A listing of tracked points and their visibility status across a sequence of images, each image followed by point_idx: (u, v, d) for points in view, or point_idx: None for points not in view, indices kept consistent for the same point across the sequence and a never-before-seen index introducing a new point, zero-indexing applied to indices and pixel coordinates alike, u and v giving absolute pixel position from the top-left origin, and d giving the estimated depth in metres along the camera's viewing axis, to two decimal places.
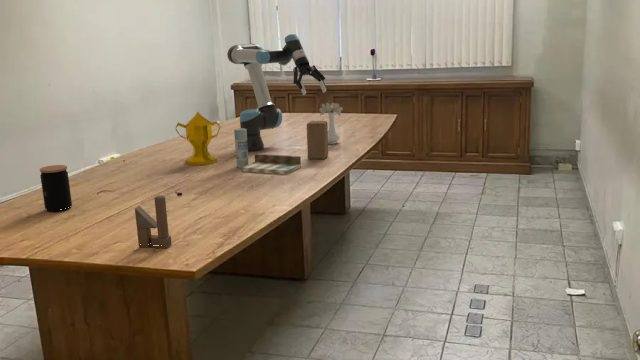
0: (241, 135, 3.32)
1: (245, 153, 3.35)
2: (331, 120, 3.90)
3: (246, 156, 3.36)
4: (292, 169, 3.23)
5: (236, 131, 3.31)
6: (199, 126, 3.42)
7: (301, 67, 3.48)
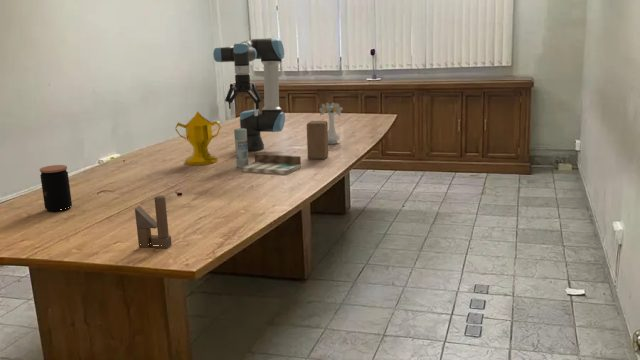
0: (241, 135, 3.32)
1: (245, 153, 3.35)
2: (331, 120, 3.90)
3: (246, 156, 3.36)
4: (292, 169, 3.23)
5: (236, 131, 3.31)
6: (199, 126, 3.42)
7: (237, 85, 3.29)
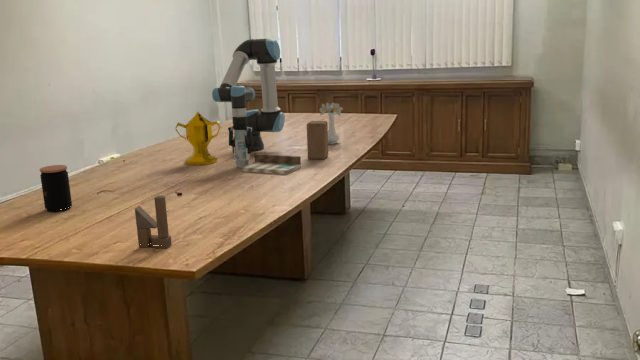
0: (241, 135, 3.32)
1: (245, 153, 3.35)
2: (331, 120, 3.90)
3: None
4: (292, 169, 3.23)
5: (236, 131, 3.31)
6: (199, 126, 3.42)
7: (234, 126, 3.33)
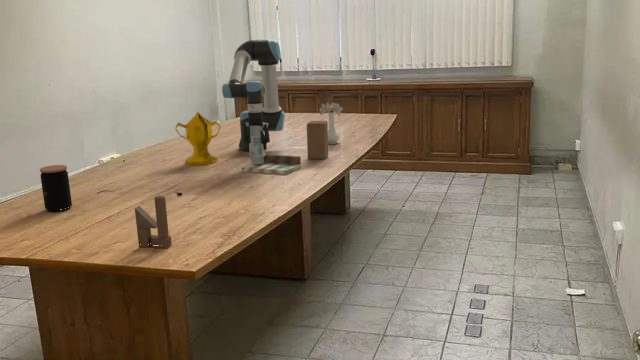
0: (257, 131, 3.26)
1: (261, 150, 3.29)
2: (331, 120, 3.90)
3: None
4: (292, 169, 3.23)
5: (252, 127, 3.26)
6: (199, 126, 3.42)
7: (250, 122, 3.28)
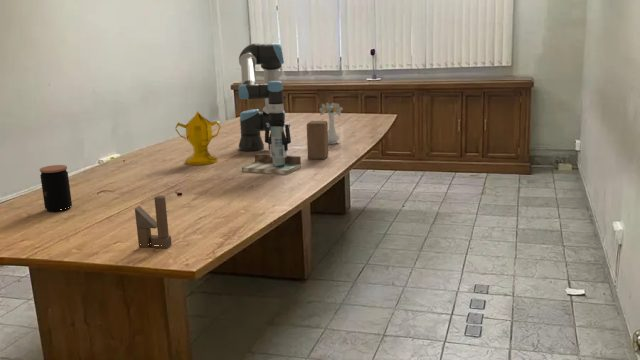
0: (278, 132, 3.21)
1: (282, 151, 3.24)
2: (331, 120, 3.90)
3: None
4: (292, 169, 3.23)
5: (273, 128, 3.21)
6: (199, 126, 3.42)
7: (271, 123, 3.23)
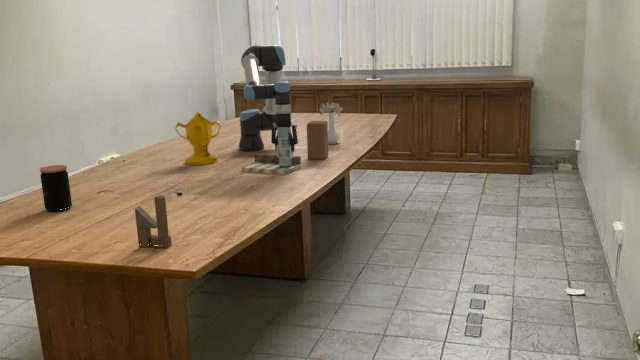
0: (285, 133, 3.20)
1: None
2: (331, 120, 3.90)
3: (289, 154, 3.24)
4: (292, 169, 3.23)
5: (280, 128, 3.20)
6: (199, 126, 3.42)
7: (278, 123, 3.22)
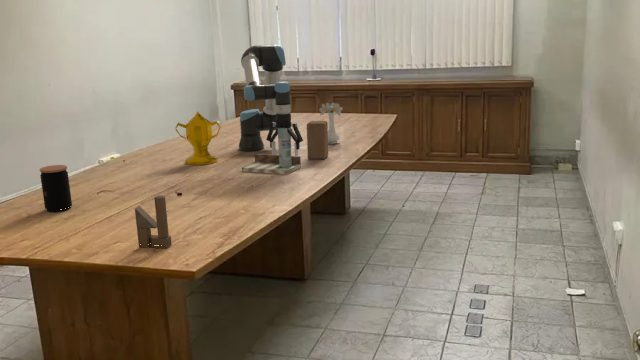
0: (285, 134, 3.20)
1: (289, 152, 3.23)
2: (331, 120, 3.90)
3: (289, 155, 3.24)
4: (292, 169, 3.23)
5: (280, 129, 3.20)
6: (199, 126, 3.42)
7: (278, 124, 3.22)
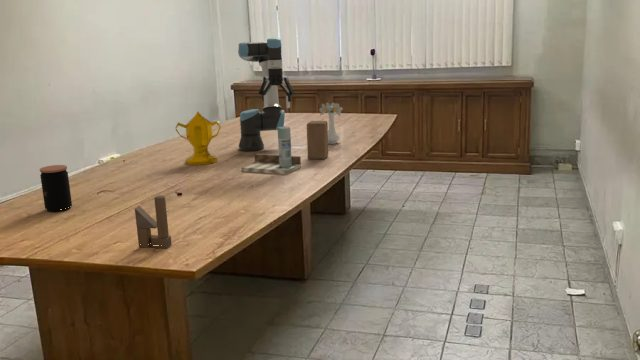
0: (285, 134, 3.20)
1: (289, 152, 3.23)
2: (331, 120, 3.90)
3: (289, 155, 3.24)
4: (292, 169, 3.23)
5: (280, 129, 3.20)
6: (199, 126, 3.42)
7: (270, 78, 3.43)
